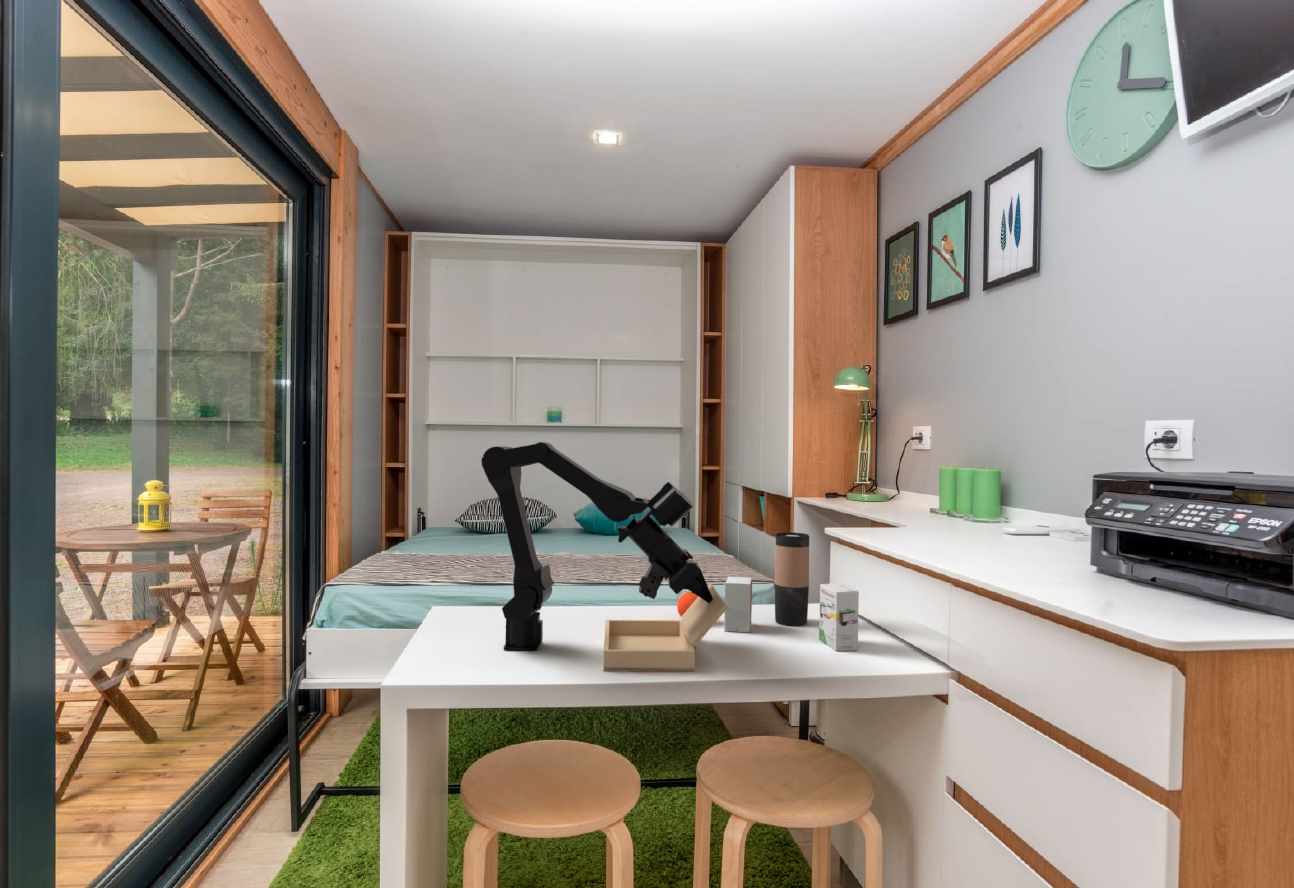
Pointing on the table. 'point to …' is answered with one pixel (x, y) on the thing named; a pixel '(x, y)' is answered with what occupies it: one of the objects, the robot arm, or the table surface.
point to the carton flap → (703, 615)
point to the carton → (647, 646)
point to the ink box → (839, 616)
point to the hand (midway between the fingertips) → (711, 601)
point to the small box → (738, 604)
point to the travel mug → (791, 578)
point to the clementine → (685, 601)
